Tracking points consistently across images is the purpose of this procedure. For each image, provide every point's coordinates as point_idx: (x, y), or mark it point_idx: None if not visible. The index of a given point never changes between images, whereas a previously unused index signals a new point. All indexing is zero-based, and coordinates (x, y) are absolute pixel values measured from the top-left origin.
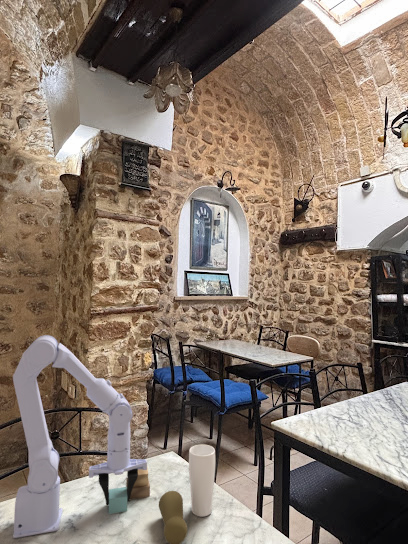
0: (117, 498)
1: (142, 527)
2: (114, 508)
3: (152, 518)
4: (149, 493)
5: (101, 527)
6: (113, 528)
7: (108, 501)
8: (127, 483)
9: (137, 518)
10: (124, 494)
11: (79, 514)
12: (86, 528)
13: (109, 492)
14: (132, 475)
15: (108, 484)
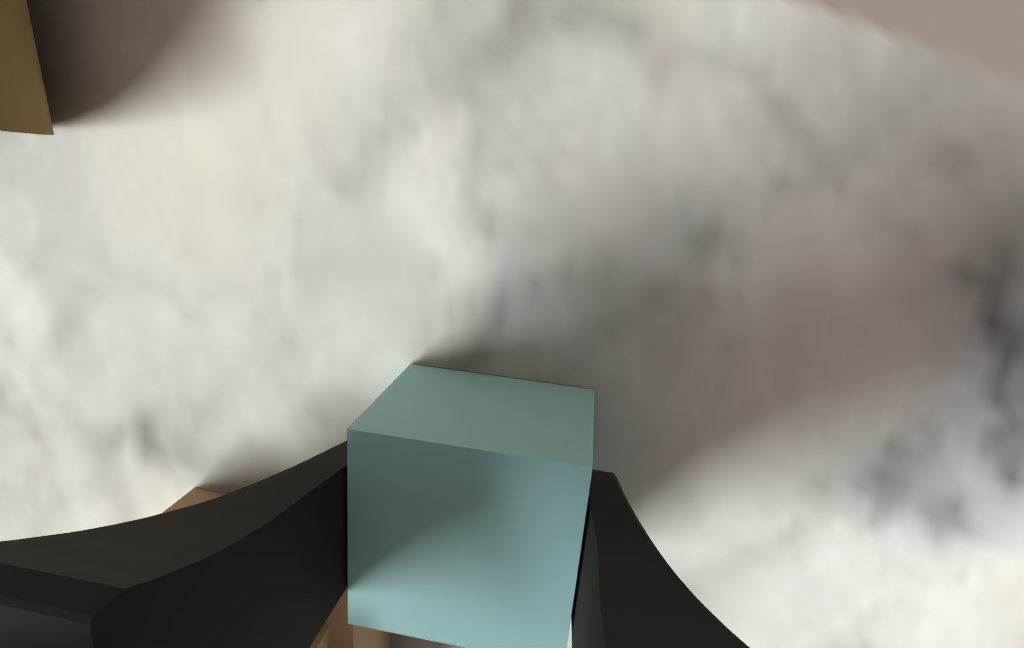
0: (478, 446)
1: (281, 33)
2: (531, 401)
3: (179, 147)
4: (177, 503)
5: (702, 199)
6: (578, 132)
7: (592, 485)
8: (303, 634)
9: (321, 205)
10: (381, 487)
11: (891, 507)
12: (868, 246)
13: (565, 607)
14: (2, 631)
15: (608, 641)
